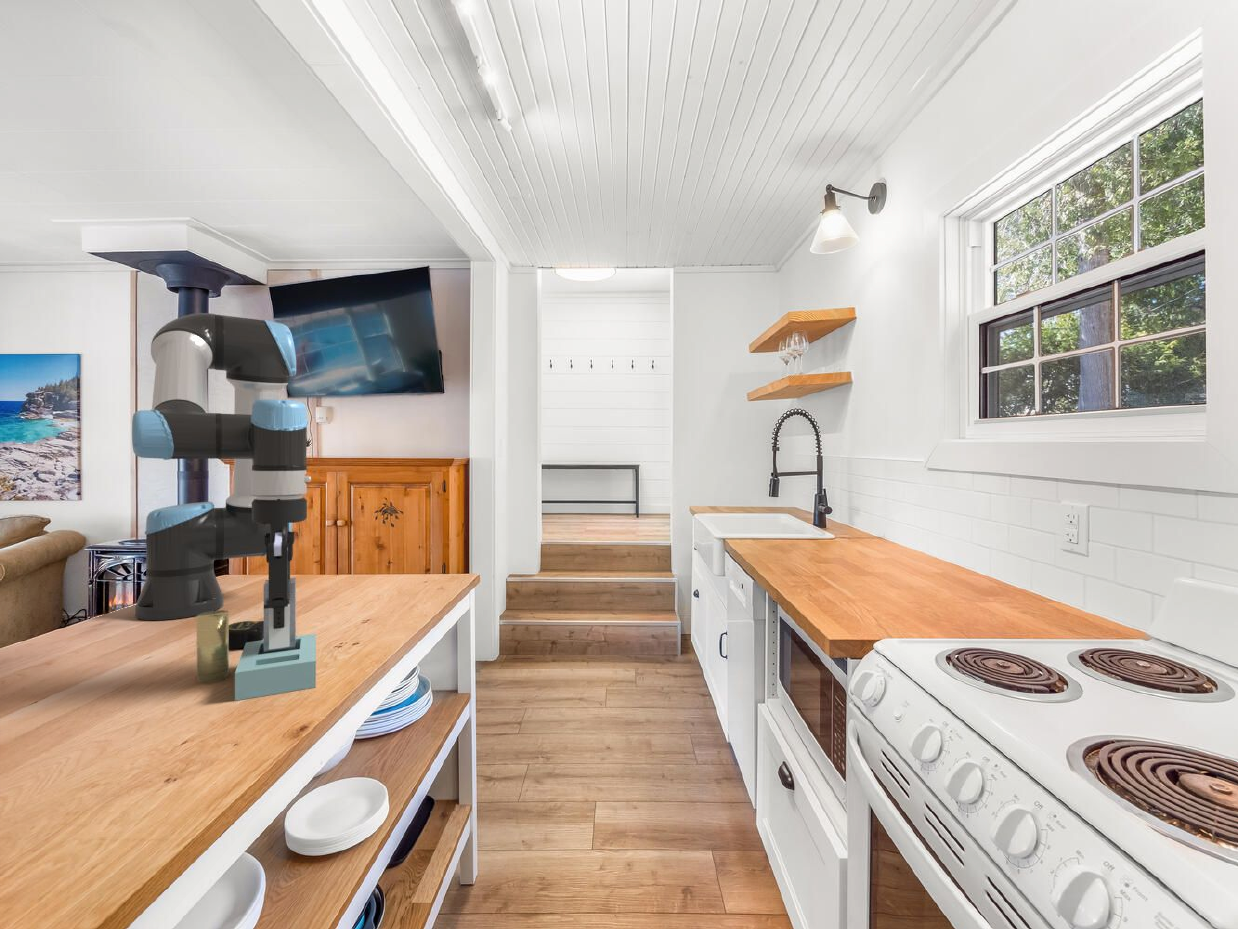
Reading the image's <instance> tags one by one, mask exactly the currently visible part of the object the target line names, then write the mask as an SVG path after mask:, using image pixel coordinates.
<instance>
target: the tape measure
mask: <svg viewBox="0 0 1238 929" xmlns="http://www.w3.org/2000/svg"><path fill="white" fill-rule="evenodd" d="M262 640H264V620H259V621H257V620H245V621H237V622H233V623H230V624H229V649H230V648H232V649H239V648H244V647H245V644H246V642H254V641H262Z"/></svg>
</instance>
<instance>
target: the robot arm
mask: <svg viewBox="0 0 1238 929" xmlns="http://www.w3.org/2000/svg"><path fill="white" fill-rule="evenodd" d="M150 356H151V359H152V360H153V362H154V363H155V373H154V374H155V376H154V383H153V384H154V385H153V393H152V402H151V403H152V404H151V406H152V407H151V409H150V410H148V409H147V410H146V409H144V410H138V411H135V412H134V413H133V415H132V420H131V443H132V452H133V453H134V454H135V456H137V457H139V458H141V459H142V458H143V459H158V460H159V459H160V460H161V459H162V460H165V461H167V460H185V459H186V460H192V459H193V460H199V459H202V460H205V459H207V460H208V459H209V460H212V459H213V460H214V459H219V460H223V459H224V460H225V459H226V460H233V493H231V494H230V495H229V496H228V497H227V498H225V506H224V507H215V504H214V503H213V501H201V502H192V503H191V502H190V503H184V504H176V505H171V506H165V507H161V508H157V509H153V510H152V511H150V512H149V513H148V514H147V516H146V523H145V531H144V535H145V536H146V537H145V538H146V540H145V541H146V542H145V543H146V544H145V545H146V546H145V548H146V550H145V551H146V552H145V553H146V554H145V558H146V560H145V569H146V570H145V575H146V576H145V577H146V578H145V581H144V583H143V586H142V589H141V591H140V595H139V596H138V599H137V601H136V604H135V608H134V609H135V615H134V616H135V618H136V619H138V620H145V621H164V620H176V619H183V618H185V619H186V618H190V617H194V616H197V615H199V614H201V613H205V612H210V611H218V610H219V609H221V608H223V606H224V593H223V591H222V589H221V587H220V584H219V582H218V579H217V577H216V574H215V571H214V569H215V568H214V567H215V566H214V561H217V560H227V559H238V558H239V559H240V558H249V557H265V560H266V563H268V580H269V601H268V604H266V605H264V604H263V610H264V609H267V608H269V649H277V648H284V647H289V605H288V604H289V599H288V578H291V562H292V560H293V556H294V544H295V539H296V538H295V531H292V529H293V524H295V523H301V522H304V521H306V519H307V518H308V499H306V497H303V495H306V494H307V488H308V485H307V483H310V482H311V481H312V477H311V476H310V475H307V467H308V466H307V451H308V450H307V444H308V443H307V442H308V441H307V440H308V436H307V435H308V425H309V421H308V419H307V418H308V417H307V406H306V405H305V404H304V402H301V401H299V400H292V399H281V391H282V389H284V388H285V387H287V386H288V385H289V377H291V378H292V377H295V376H296V375H297V355H296V347H295V342H294V339H293V334H292V331H291V330H290V328H289V326H288V325H286V324H284V323H280V322H275V321H271V320H266V319H258V318H257V319H255V318H247V317H238V316H231V315H221V314H215V313H208V312H205V313H204V312H198V313H192V314H187V315H183V316H180V317H178V318H176V319H173V320H171V321H169V322H167V323H166V324H165V325H163V326H162V327H161V328H160V329H159V330H157V332H156V333H155V335H154V336H153V338H152V340H151V344H150ZM207 370H216V371H225V379H226V380H227V382H229V383H230V384H231V385H232V386H233V388H234V413H221V412H220V413H219V412H218V413H217V412H215V413H214V412H209V403H208V402H209V398H208V397H209V396H208V377H207V376H208V374H207V372H208V371H207Z"/></svg>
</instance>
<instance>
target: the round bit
mask: <svg viewBox="0 0 1238 929" xmlns="http://www.w3.org/2000/svg"><path fill="white" fill-rule="evenodd" d="M229 618H230V616H229V611H228V610H219V609H217V610H215V611H210V612H205V613H201V614H199V615H196V682H197V684H213V683H217V682H221V681H223V680H225V679H227V678H229V675H230V674H229V671H230V670H229V668H230V667H229V666H230V663H229V662H230V661H229V660H230V658H229V657H230V656H229V655H230V653H229V652H230V651H229V649H230V647H229V625H230V624H229V623H230V622H229V621H230V620H229Z"/></svg>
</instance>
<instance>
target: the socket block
mask: <svg viewBox="0 0 1238 929" xmlns="http://www.w3.org/2000/svg"><path fill="white" fill-rule="evenodd" d="M239 658H240V659H239V661H238V662H237V666H236V669H235V672H234V701H236V702H237V701H242V700H243V701H244V700H248V699H255V698H259V697H267V696H271V695H277V694H284V693H290V692H291V693H292V692H296V691H302V690H308V689H313V688H316V684H317V683H316V676H317V668H316V667H317V666H316V665H317V634H316V633H310V634H302V635H301V634H300V635H296V650H289V651H282V652H275V653H268V654H264V639H263V640H262V641H254V642H246V644H245V647H243V650H242V652H241V654H240V657H239Z"/></svg>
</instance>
